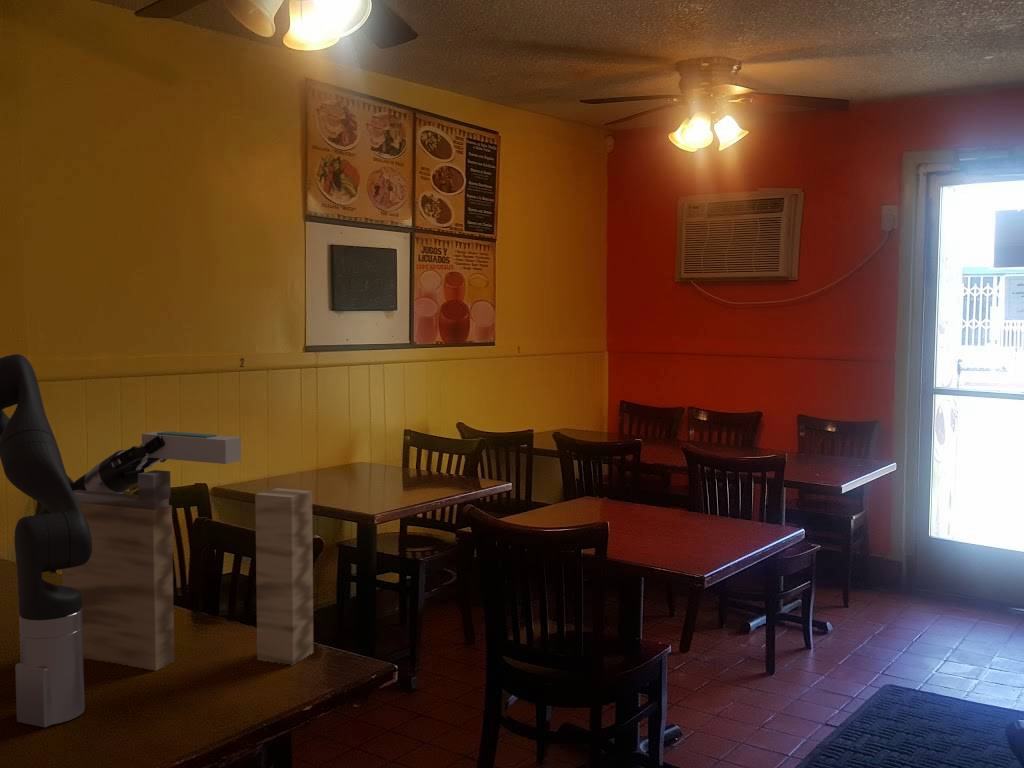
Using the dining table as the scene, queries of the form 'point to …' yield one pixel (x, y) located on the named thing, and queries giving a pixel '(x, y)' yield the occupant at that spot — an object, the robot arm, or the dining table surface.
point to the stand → (284, 575)
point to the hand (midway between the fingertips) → (171, 438)
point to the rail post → (128, 575)
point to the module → (196, 447)
